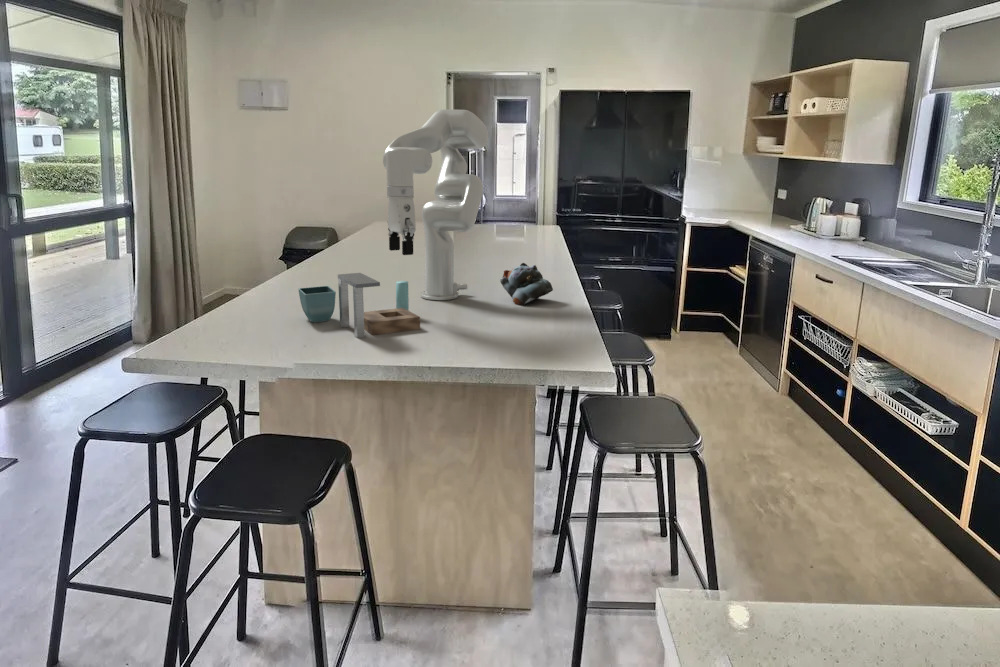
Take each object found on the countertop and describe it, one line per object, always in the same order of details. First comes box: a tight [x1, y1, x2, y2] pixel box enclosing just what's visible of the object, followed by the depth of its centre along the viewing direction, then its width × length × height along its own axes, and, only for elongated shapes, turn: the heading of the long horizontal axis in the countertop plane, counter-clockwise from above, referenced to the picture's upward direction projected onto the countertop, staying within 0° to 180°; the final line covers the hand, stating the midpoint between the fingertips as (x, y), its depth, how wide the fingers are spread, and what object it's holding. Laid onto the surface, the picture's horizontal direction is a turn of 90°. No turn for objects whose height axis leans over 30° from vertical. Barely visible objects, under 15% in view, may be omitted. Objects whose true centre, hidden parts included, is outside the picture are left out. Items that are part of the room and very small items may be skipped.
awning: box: [337, 272, 381, 339], centre depth 193 cm, size 6×15×14 cm, turn 31°
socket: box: [364, 308, 421, 336], centre depth 199 cm, size 14×12×4 cm
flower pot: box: [297, 285, 336, 324], centre depth 204 cm, size 9×9×9 cm
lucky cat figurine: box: [499, 262, 554, 306], centre depth 233 cm, size 15×12×14 cm
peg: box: [395, 280, 410, 311], centre depth 212 cm, size 4×4×10 cm
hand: (401, 252), depth 208 cm, fingers open, 9 cm apart
